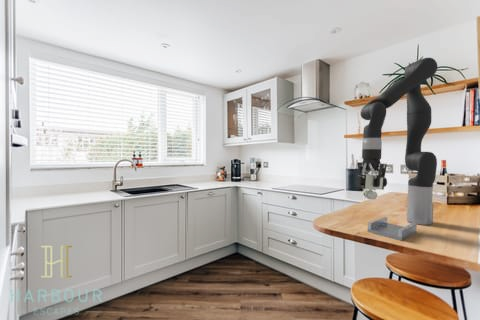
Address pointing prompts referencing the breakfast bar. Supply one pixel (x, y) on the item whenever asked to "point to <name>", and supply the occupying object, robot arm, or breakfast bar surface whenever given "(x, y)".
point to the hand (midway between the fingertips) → (370, 185)
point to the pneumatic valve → (370, 185)
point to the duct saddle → (391, 229)
